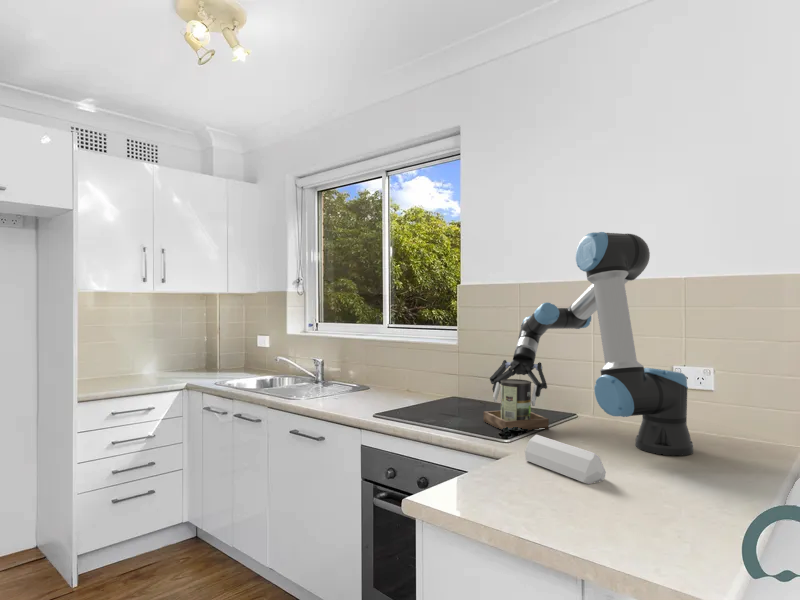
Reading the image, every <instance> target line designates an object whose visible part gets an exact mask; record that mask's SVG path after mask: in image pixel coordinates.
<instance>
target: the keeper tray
mask: <svg viewBox="0 0 800 600" xmlns="http://www.w3.org/2000/svg"><path fill="white" fill-rule="evenodd" d="M482 415H483V421H484V422H483V423H485V422H486V424H487V423H488V425H489V424H490V426H491V425H492V427H493V426H494V427H493V428H495V427H496V428H495V429H497V428H499V429H503V428H506V427H508V428H513V427H518V428H522V429H528V430H532V429H539V428H545V430H546V431H549V423H550V421H549V418H548V417H545V416H542V415H540V414H537V413H535V412H532V411H531V419H529V420H515V421H506V420H503V419H501V410H488V411H487V410H485V411H483V413H482ZM499 429H498V430H499ZM545 430H544V431H545Z"/></svg>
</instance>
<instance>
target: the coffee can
mask: <svg viewBox="0 0 800 600" xmlns="http://www.w3.org/2000/svg"><path fill="white" fill-rule="evenodd" d="M531 392H532V380H531V381H530V380H526V379H516V378H515V379H514V378H508V379H506V380H501V384H500V411H501V419H503V420H506V421H515V420H529V419H531V412H532V410H531V409H532V407H531V406H532V403H531V399H532V393H531Z"/></svg>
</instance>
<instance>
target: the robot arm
mask: <svg viewBox="0 0 800 600" xmlns="http://www.w3.org/2000/svg"><path fill="white" fill-rule="evenodd" d="M650 254H651V252H650V247H649V245H648V243H646V241H645V240H644V239H643V238H642V237H640V236H639V235H637V234H633V233H617V232H616V233H615V232H604V231H598V232H590V233H587V234H586V235H585V236H583V237H582V239H581V240H580V241H579V243H578V245H577V248H576V251H575V262H576V266H577V267H578V268H579V270H581V271H583V272H585V273H586V279H587V281H588V282H590V283H591V284H590V285H589V286H588V287H587V288H586V289H585V290H584V291H583V292H582V293H581V295H579V296H578V297H577V299H576V300H575V301H574V302H572V303H571V305H570V306H569V307H558V306H556V304H553V303H551V302H549V301H548V302H544V303H542V304H540V305H539V306H538V307H537V308H536V309H535V310H534V312H533V313H532V315H528V316H526V317H525V318H523V320H522V323H521V325H520V331H519V334H518V339H517V341H516V345H515V348H514V349H515V350H514V353H513V356H512V361H511V362H510V361H507V360H506V359H503V361H502V363H501V365H500V366H499V367H498V368H497V369H496V370H495V372H494V373H493V374H492V375H491V376H490V377H489V381H490V383H491V385H492V392H493V393H492V394H493V395H492V400H493V402H494V403H497V401H498V398H499V393H500V392H501V380H506V379H510V377H513V376H515V375H517V376H518V375H522V376H526V375H527V376H528V378H530V380H531V382H533V384H534V386H533V391H532V393H531V406H533V407H535V406H536V401H537V397H538V398H539V397H540V396H541V392H542V390H543V389H545V390H547V389H548V385H547V380H546V379H545V375H544V373H543V366H542V363H541V362H540V361H539V362H538V363H535V361H536V355H537V352H538V348H539V343H540V339H541V337H542V336H543V335H544V334H545V333H546V332H547V331H548V330H550V329H551V330H555V329H556V330H557V329H558V330H559V329H562V330H563V329H567V330H568V329H569V330H570V329H573V330H574V329H576V330H580V329H585V328H588V327H589V326H591V325H590V324H591V322H592V315H594V314H595V313H596V312H597V318H598V324H599V325H598V326H599V330H600V331H599V332H600V338H601V345H602V352H603V358H604V359H603V360H604V365H603V366H602V368H601V369H600V376H599V377H598V378H597V379H596V380H595V384H594V389H593V390H594V396H595V400H596V402H597V404H598V406H599V407H600V408H601V409H602V410H603V411H604V413H606V414H608V415H609V416H610V417H611V416H612V417H623V418H628V417H631V416H633V417H634V416H642V418H641V423H640V426H639V430H638V433H637V435H636V436H635V447H636V448H637V449H639V450H641V451H645V452H647V453H651V454H655V453H656V454H657V455H661V454H663V455H664V456H670V455H684V456H689V455H688V454H690V455H692V454H693V453H694V442H693V441H692V439H691V435H690V432H689V428H688V425H687V421H688V420H687V419H688V418H687V415H688V413H687V412H688V409H687V408H688V389H689V387H688V379H687V378H688V377H687V376H686V375H685V374H684V373H683V372H679V371H674V370H668V369H666V370H665V369H660V368H655V367H654V368H653V367H652V368H651V367H644V365H643V364H642V363H640V362H639V361H638V359H637V353H636V352H637V351H636V347H635V341H634V335H633V329H632V322H631V315H630V311H629V304H628V297H627V290H626V284H627V283H628V282H631V281H634V280H636V279H637V278H638V277H639V276H640V275H641V274H642V273H643V272H644V271H645V269H646V268H647V266H648V264H649V262H650V257H651V256H650ZM534 369H535V370H536V371H538V375H539V378H540V380H539V379H538V378H537V377H536V375H535V374H534V373H533V370H534ZM540 381H541V382H540ZM691 453H692V454H691ZM656 454H655V455H656Z"/></svg>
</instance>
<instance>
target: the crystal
mask: <svg viewBox="0 0 800 600" xmlns="http://www.w3.org/2000/svg"><path fill="white" fill-rule="evenodd" d="M524 456H525V457H524V459H525V461H527V462H529V463H532V464H534V465H537V466H540V467H542V468H545V469H548V470H550V471H552V472H554V473H558V474H561V475H564V476H566V477H568V478H571V479H574V480H577V481H578V482H581V483H584V484H588V485H591V483H592V484H595V483H594V482H596V483H599V481H600V482H603V481H604V479H605V478H606V473H607V471H606V469H605V467H604V465H603V464H604V463H603V462H602V458H601V457H600V456H599V455H598V454H597V453H595V452H594V451H593V452H592V451H589V450H586V449H584V448H580V447H577V446H574V445H571V444H567V443H564V442H562V441H558V440H555V439H551V438H548V437H545V436H542V435H540V434H535V435H533V436H532V437H531V438H530V439H529V440H528V442H527V444H526V447H525V449H524Z"/></svg>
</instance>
